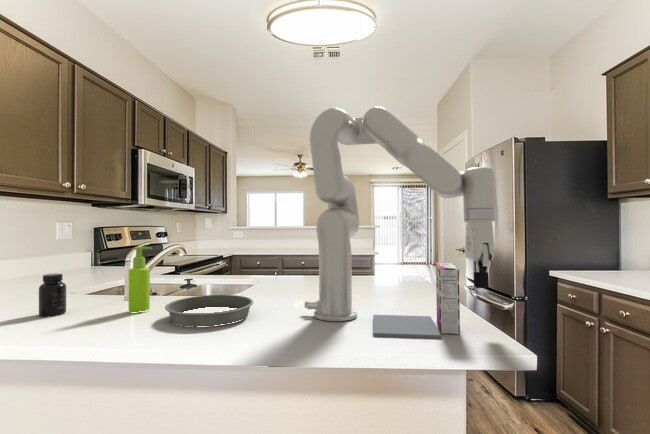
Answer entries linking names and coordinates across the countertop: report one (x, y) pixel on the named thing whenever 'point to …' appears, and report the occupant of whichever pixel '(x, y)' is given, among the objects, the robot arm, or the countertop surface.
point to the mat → (405, 326)
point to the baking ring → (209, 319)
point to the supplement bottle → (52, 296)
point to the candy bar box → (447, 298)
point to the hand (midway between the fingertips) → (481, 287)
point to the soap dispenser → (139, 283)
